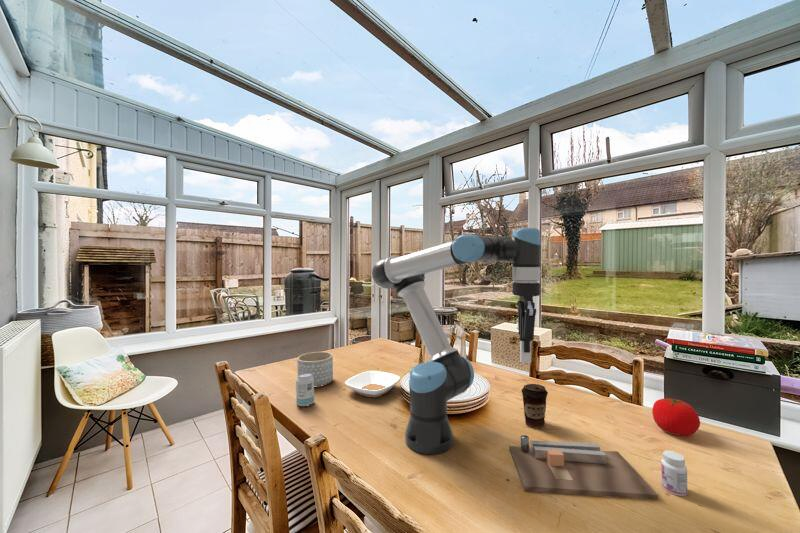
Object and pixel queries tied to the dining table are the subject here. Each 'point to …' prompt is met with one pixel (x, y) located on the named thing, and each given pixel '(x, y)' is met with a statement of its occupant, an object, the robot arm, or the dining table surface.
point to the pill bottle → (674, 473)
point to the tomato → (675, 417)
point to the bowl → (372, 382)
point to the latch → (555, 457)
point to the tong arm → (573, 455)
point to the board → (581, 476)
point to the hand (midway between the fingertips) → (525, 362)
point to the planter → (317, 366)
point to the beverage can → (304, 389)
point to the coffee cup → (534, 405)
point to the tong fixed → (556, 445)
